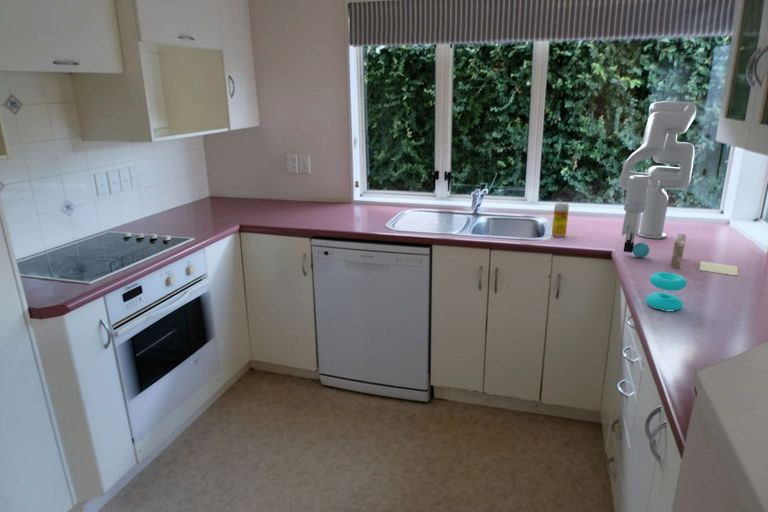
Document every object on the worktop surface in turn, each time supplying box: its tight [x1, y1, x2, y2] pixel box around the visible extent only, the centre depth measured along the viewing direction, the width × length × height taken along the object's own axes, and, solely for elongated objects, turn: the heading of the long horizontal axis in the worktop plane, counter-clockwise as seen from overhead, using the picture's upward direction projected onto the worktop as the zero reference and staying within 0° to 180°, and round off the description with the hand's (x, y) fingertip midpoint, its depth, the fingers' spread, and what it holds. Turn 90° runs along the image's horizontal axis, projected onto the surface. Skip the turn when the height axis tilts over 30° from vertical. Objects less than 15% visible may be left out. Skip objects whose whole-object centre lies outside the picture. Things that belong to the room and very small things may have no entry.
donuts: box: [645, 271, 688, 311], centre depth 163 cm, size 10×10×10 cm
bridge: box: [670, 233, 687, 269], centre depth 205 cm, size 3×15×10 cm, turn 149°
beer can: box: [551, 201, 570, 238], centre depth 241 cm, size 6×6×15 cm
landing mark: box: [699, 261, 739, 277], centre depth 199 cm, size 12×12×1 cm
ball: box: [632, 242, 650, 259], centre depth 211 cm, size 6×6×6 cm
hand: (628, 251), depth 214 cm, fingers closed
